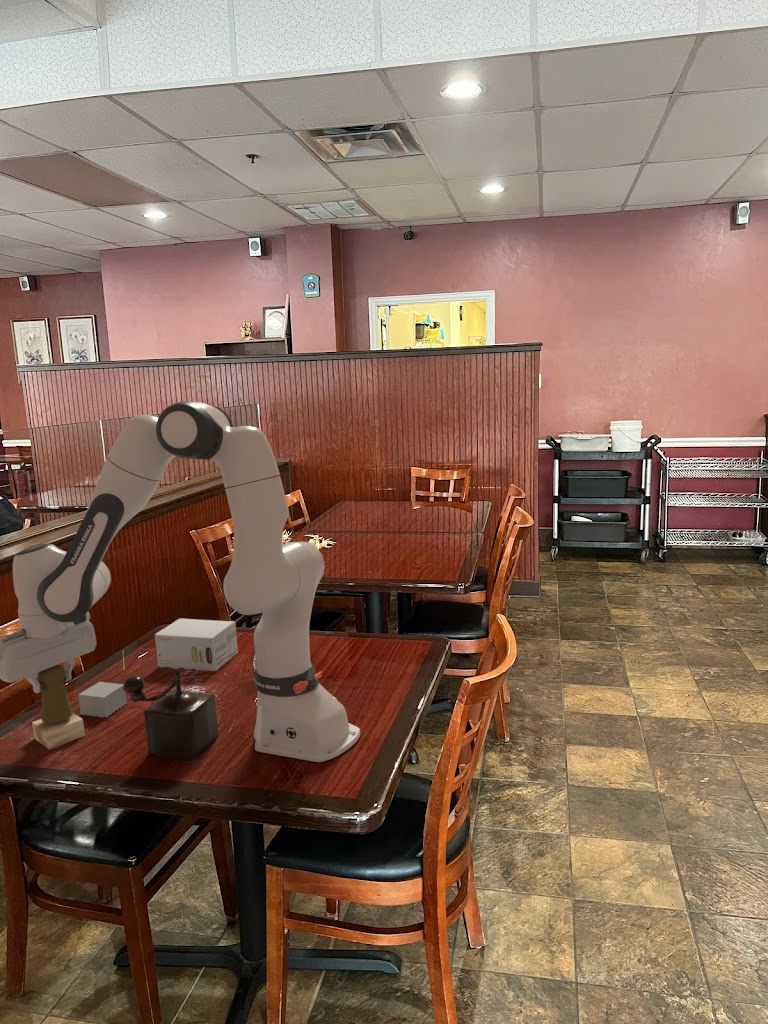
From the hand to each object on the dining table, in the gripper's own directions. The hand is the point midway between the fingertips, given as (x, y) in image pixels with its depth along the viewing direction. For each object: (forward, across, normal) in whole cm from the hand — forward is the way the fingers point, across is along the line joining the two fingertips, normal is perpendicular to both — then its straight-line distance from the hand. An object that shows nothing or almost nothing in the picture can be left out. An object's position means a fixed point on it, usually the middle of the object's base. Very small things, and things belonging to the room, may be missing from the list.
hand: (53, 685), depth 150 cm
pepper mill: (+12, +8, -27) cm, 30 cm away
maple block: (+12, 0, 0) cm, 12 cm away
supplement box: (+12, +44, +6) cm, 46 cm away
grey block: (+12, +13, +3) cm, 18 cm away
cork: (+7, 0, 0) cm, 7 cm away
